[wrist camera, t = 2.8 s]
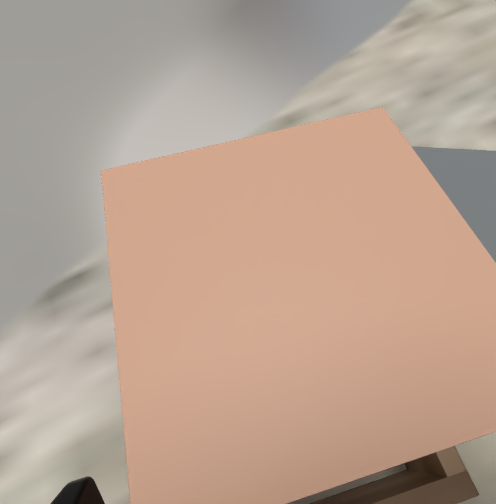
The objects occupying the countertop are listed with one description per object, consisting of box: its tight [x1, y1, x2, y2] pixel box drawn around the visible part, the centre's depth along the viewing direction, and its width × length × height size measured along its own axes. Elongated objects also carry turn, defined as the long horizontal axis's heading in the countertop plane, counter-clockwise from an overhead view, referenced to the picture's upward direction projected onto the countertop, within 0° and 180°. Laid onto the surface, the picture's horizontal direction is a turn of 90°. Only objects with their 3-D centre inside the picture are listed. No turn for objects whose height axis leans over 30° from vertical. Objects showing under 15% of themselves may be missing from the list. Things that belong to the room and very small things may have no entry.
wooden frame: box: [311, 446, 479, 504], centre depth 14 cm, size 10×10×4 cm
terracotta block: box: [101, 107, 496, 504], centre depth 10 cm, size 5×5×13 cm
